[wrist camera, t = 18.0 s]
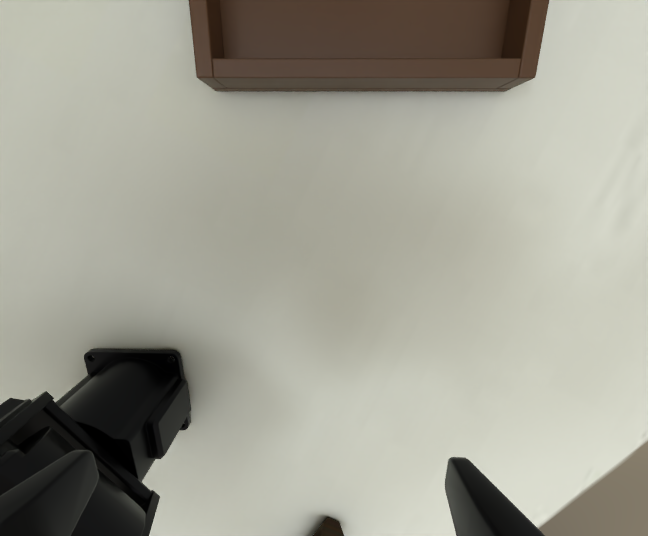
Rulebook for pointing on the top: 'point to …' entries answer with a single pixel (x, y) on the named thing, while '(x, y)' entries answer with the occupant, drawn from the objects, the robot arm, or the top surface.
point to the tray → (367, 44)
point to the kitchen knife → (329, 528)
